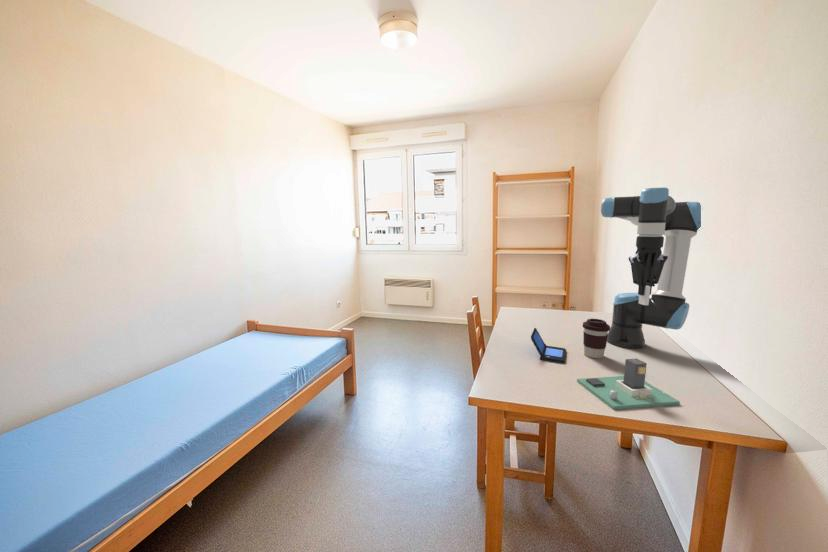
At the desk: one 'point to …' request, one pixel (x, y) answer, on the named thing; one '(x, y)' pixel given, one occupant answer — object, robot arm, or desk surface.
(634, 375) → the plug
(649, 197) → the robot arm
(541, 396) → the desk surface
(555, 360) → the handheld game console
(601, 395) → the board
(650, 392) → the header
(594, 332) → the coffee cup
